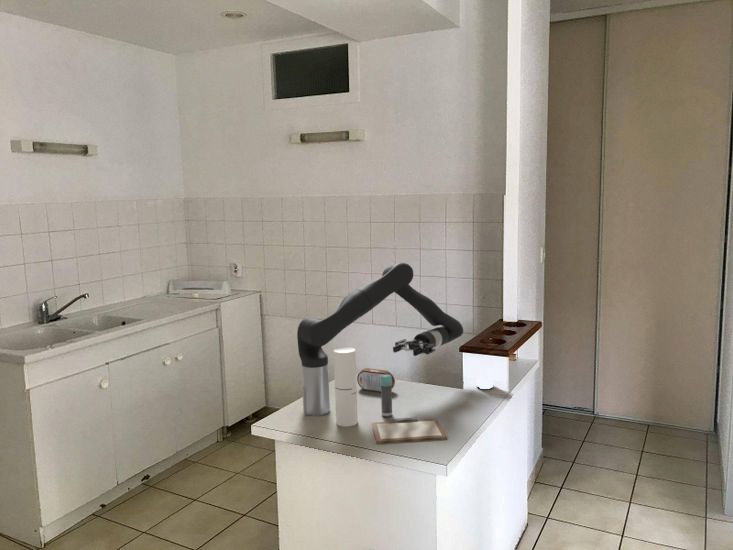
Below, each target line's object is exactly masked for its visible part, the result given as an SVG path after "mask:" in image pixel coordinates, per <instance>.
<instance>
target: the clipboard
mask: <svg viewBox="0 0 733 550" xmlns="http://www.w3.org/2000/svg"><path fill="white" fill-rule="evenodd" d="M371 427H372V430H373V431H372V432H373V436H374V440H375V443H376V444H377V445H378V444H393V443H407V442H409V443H410V442H423V441H426V440H427V441H439V440H438V439H443V440H448V436H447V434H446V432H445V430H444V429H443V427H442V425H441V422H440V421H439V419H438V418H429V419H418V417H416V416H414V417H413V416H412V417H400V418H398V417H396V418H392V421H379V422H377V421H376V422H371Z"/></svg>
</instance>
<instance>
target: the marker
mask: <svg viewBox="0 0 733 550" xmlns="http://www.w3.org/2000/svg"><path fill="white" fill-rule="evenodd" d="M392 390H393V388H392V376H391V375H381V392H380V393H381V394H380V395H381V396H380V397H381V399H380V400H381V402H380V403H381V404H380V405H381V417H382V418H387V419H388V418H391V417H393V391H392Z"/></svg>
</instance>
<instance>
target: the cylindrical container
mask: <svg viewBox="0 0 733 550" xmlns="http://www.w3.org/2000/svg"><path fill="white" fill-rule="evenodd" d="M356 354H357V353H356V348H354V347H345V346H344V347H338V348H334V349H333V368H334V371H333V372H334V389H335V390H334V391H335V392H334V393H335V397H334V398H335V420H336V423H335V424H336V425H338V426H340V427H344V428H346V427H348V428H349V427H353V426H355V425H357V424H358V420H359V419H358V418H359V417H358V392H357V391H358V390H357V387H358V386H357V364H356V363H357V356H356Z"/></svg>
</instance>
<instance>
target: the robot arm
mask: <svg viewBox="0 0 733 550" xmlns="http://www.w3.org/2000/svg"><path fill="white" fill-rule="evenodd" d="M413 278H414V269H413V267H412V266H411V265H410V264H408V263H406V262H397V263H394V264H393V265H390V266H388V267H386V268H384V269H383V272H382V276H380V277H379V278H376V279H375V280H372V281H370V282H368V283H366V284H364V285H362V286H360V287H358V288H356V289H355V290H353V291H352V292H350V293H348V295H346V296H345V297H344V298H343V299H342V300H341V303H340V304H339V306H338V308H337V309H336V310H335V311H334V312H333V313H331V314H329V316H326V317H325V318H323V319H317V318H313V317H306V318H303V319H302V320H301V321H300V323H299V324H298V327H297V333H296V337H297V348H298V355H299V359H300V361H301V373H302V374H301V375H302V376H301V377H302V378H301V380H302V404H303V405H302V407H303V409H302V410H303V415H304V416H323V415H326V414H328V413H330V410H331V407H330V406H331V404H330V403H331V402H330V382H329V381H330V379H329V358H328V355H327V354H326V352H325V351H324V349H323V347H324V346H326V345H327V344H329V342H331V341H332V340H333V339H334V338H336V336H337V335H339V334H340V333H341V332H342V331H343V330H344V329H346V328H347V327H349V326H350V325H351V324H352V323H355V322H356V321H357V320H358V319H360V318H361V317H363V316H364V315H366V314H368V313H369V312H370V311H371V310H373V309H374V308H375V307H377V306H378V305H379V304H380V303H382V302H383V301H384V300H386V299H387V297H389V296H390V295H392V294H393V293H395V294H396V295H397V296H399V297H400V298H401V299H403V300H404V301H405V302H407V303H408V304H409V305H410V306H412V307H413V308H414V310H416V311H417V312H418V313H419V314H420V315H421V316H422V317H423V318H424V320H426V322H428V323H429V324H430V325H431V326H432V327H435V328H432V329H429V330H426V331H423V332H420V333H418V334H416V335H415V336H414V338H413V339H411V340H407V339H406V338H405V339H401V340H398V341H395V342H394V346H392V352H393V353H394V354H395V353H398V352H401V351H405V352H412V353H413V354H412V355H413V356H414V357H416V356H418V355H430V354H431V353H434V352H436V349H437V348H439V347H441V346H443V345H446V344H448V343H451V342H453V341H454V340H456V339H458V338H460V337H462V335H463V334H464V328H463V327H464V326H463V324H461V322H460V321H459V320H457V319H456V318H455V317H453V316H451V315H450V314H448V313H446V312H445V311H444V310H442V309H441V308H440V306H438V304H436V302H434V301H433V300H432V299H431V298H429V296H428V297H427V296H426V295H425V294H422V293H421V292H419V291H417V290H416V289H415V288H413V287H412V286H411V285H410V283H412V281H413ZM437 326H439V327H437Z"/></svg>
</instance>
